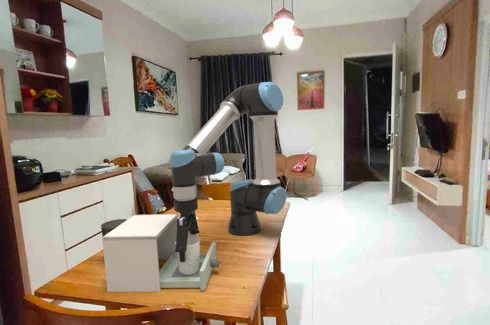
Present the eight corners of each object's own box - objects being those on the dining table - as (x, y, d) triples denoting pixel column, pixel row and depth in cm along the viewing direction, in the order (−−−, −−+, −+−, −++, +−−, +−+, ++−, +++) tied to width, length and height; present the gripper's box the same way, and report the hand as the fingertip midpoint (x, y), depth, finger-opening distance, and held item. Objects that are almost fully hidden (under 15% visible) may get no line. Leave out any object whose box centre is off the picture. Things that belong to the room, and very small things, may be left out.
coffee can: (100, 267, 109) (96, 228, 107) (110, 254, 119) (106, 219, 117) (129, 264, 110) (126, 226, 108) (137, 253, 120) (134, 218, 118)
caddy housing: (180, 258, 113) (177, 213, 111) (159, 291, 91) (155, 236, 89) (138, 259, 114) (134, 214, 112) (107, 291, 92) (102, 237, 90)
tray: (223, 257, 112) (222, 241, 111) (212, 290, 90) (211, 271, 89) (173, 257, 113) (172, 242, 112) (150, 290, 91) (149, 271, 90)
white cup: (204, 272, 99) (202, 242, 98) (180, 278, 95) (178, 247, 94) (197, 262, 106) (195, 235, 105) (174, 268, 102) (172, 239, 101)
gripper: (183, 190, 111) (187, 246, 114) (161, 209, 86) (166, 280, 89) (204, 189, 110) (207, 245, 113) (187, 208, 86) (191, 279, 88)
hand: (189, 261), depth 101 cm, fingers open, 13 cm apart
